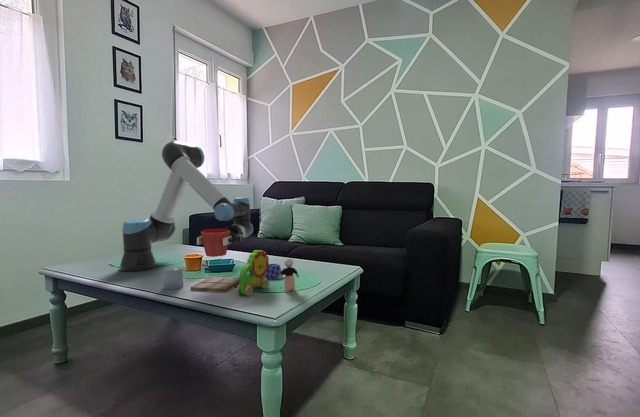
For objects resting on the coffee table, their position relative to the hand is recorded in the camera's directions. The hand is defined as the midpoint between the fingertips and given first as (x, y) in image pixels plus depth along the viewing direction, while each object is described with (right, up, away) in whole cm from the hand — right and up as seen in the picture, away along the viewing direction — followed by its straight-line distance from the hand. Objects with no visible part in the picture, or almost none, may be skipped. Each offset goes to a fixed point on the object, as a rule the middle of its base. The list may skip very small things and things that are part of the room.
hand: (210, 241), depth 126 cm
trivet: (+1, -18, +5) cm, 19 cm away
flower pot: (+1, -6, +5) cm, 8 cm away
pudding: (+21, -18, +19) cm, 33 cm away
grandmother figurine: (+30, -19, -2) cm, 35 cm away
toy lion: (+17, -19, -1) cm, 25 cm away
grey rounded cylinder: (-16, -18, +4) cm, 24 cm away
